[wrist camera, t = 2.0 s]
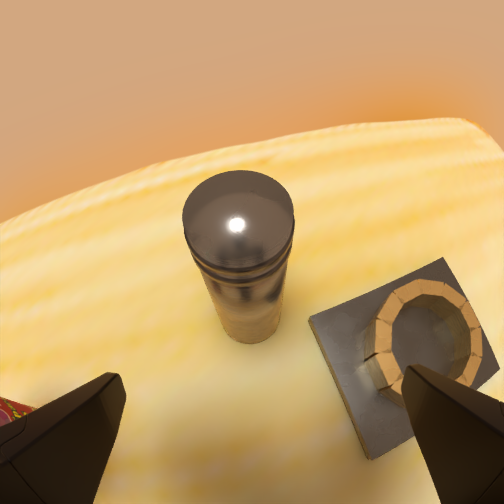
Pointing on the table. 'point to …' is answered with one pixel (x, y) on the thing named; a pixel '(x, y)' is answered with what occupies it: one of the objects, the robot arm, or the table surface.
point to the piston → (242, 248)
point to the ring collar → (400, 348)
